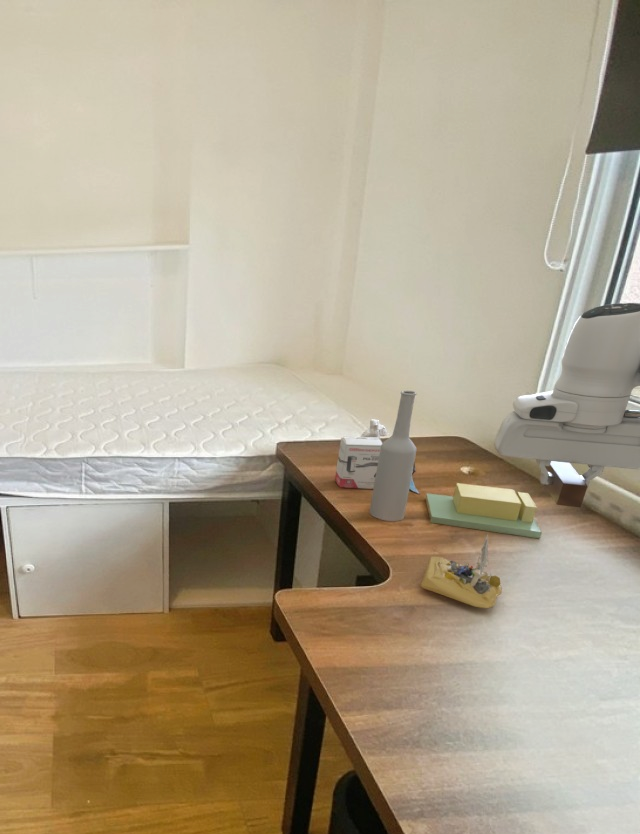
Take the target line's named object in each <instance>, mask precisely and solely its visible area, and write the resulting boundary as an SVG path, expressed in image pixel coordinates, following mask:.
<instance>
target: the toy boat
mask: <svg viewBox="0 0 640 834" xmlns="http://www.w3.org/2000/svg"><path fill="white" fill-rule="evenodd" d="M453 538H454V537H453V536H451V539H453ZM479 555H480V557H478V559H477V562H476V565H477V566H476V567H475V568H474V566H473V565H470V564H469V563H465V565H462V564H459V563H457V562H456V561H454V560H449V559H446V558H445V557H441V556H430V558H429V559H428V562H427V565H426V568H425V571H424V575H423V577H422V580H421V583H420V587H421V588H422V589H425V590H427V591H431V592H433V593H435V594H439V595H442V596H444V597H447V598H449V599H452V600H455V601H457V602H461V603H464V604H466V605H469V606H472V607H475V608H481V609H489V608H493V607H494V606H495V605H496V602H497V600H498V596H500V595H501V594H502V593H503V587H502V585H501V578H500V577H499V576H497V575H492V574H491V573H489V575H488V572H487V571H484V569H485V568H487V567H488V565H489V533H487V535H486V537H485V539H484V542H483V544H482V546H481V548H480V554H479Z"/></svg>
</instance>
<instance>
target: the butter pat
mask: <svg viewBox="0 0 640 834" xmlns="http://www.w3.org/2000/svg"><path fill="white" fill-rule="evenodd" d="M516 495H517V497H518V498H519V500H520V502H521V507H520V511H519V515H518V516H519V518H520V520H521V521H523V522H530V523H533V520H534V519H535V517H536V512H537V510H538V507H537V506H536V503H535V502H534V500H533V499H532V497H531V495H530V494H529V493H528V492H521V491H517V492H516Z"/></svg>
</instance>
